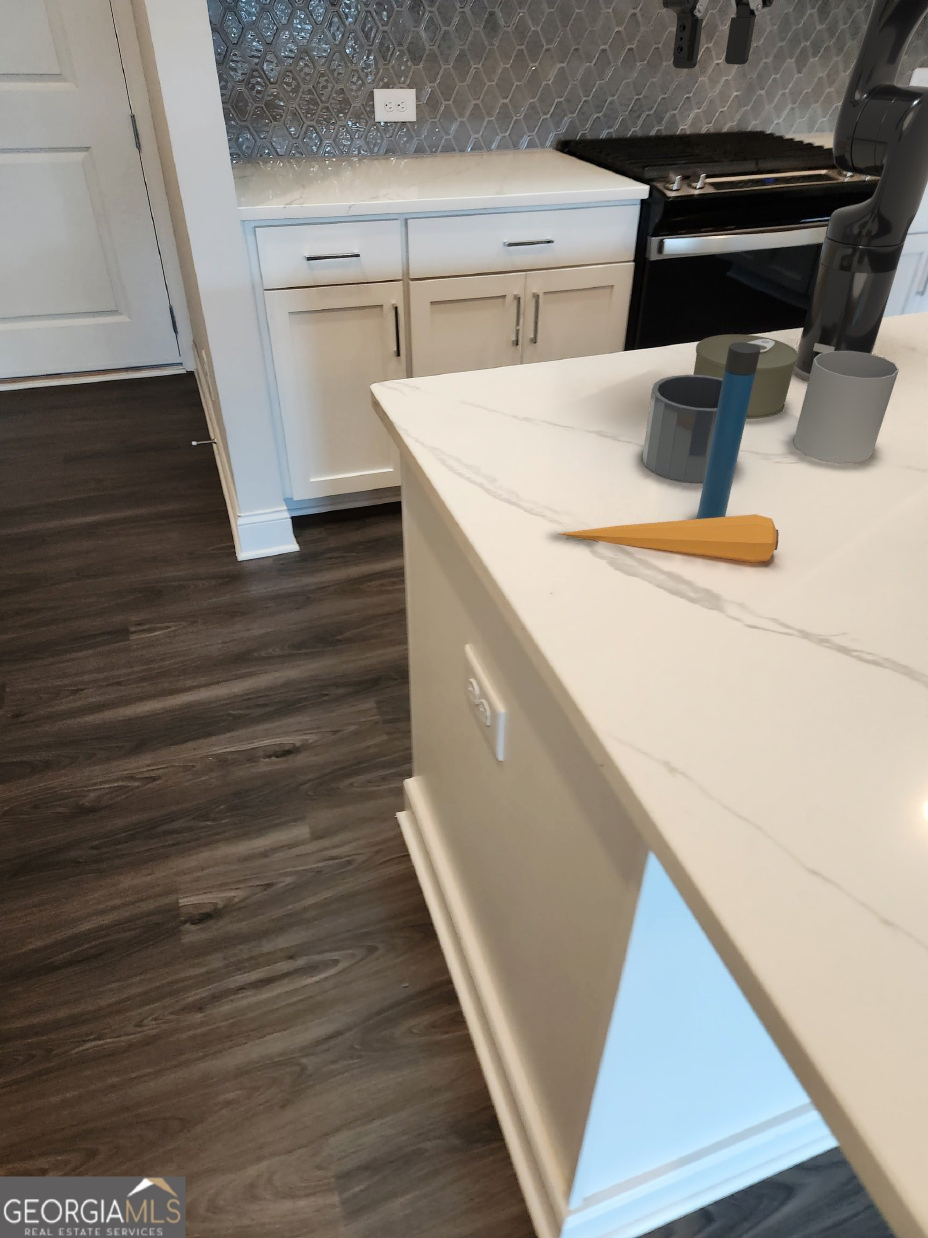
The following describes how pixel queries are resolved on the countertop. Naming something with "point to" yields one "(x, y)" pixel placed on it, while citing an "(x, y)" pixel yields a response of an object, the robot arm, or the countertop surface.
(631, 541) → the carrot
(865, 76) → the robot arm
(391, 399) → the countertop surface
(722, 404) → the marker
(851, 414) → the cup
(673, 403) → the pen pot
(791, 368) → the can
